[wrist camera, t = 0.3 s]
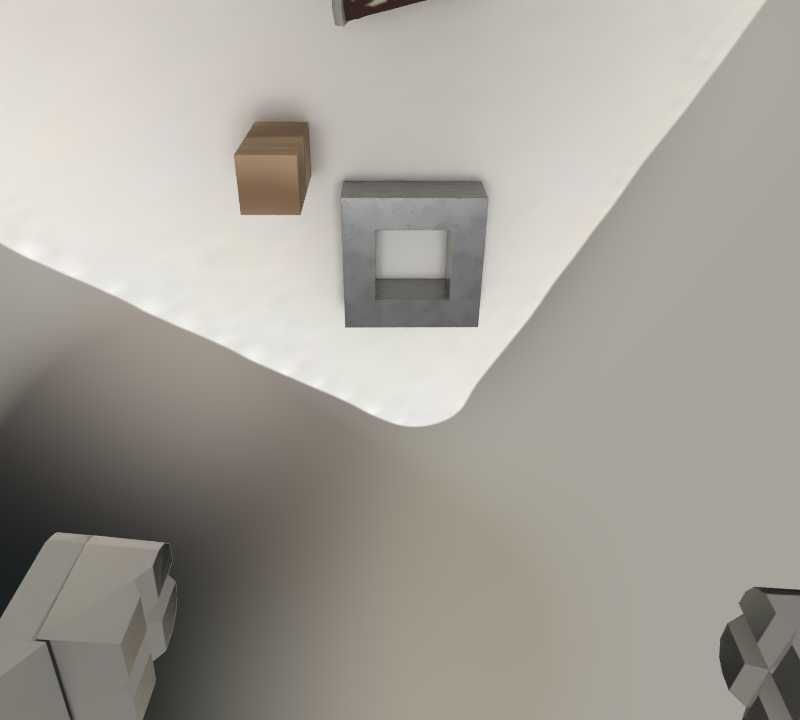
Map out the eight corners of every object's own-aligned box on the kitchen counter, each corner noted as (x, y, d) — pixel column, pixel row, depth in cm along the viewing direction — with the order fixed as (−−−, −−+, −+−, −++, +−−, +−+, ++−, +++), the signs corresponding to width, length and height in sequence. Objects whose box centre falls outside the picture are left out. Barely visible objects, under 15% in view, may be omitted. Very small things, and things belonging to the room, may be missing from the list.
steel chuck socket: (343, 181, 55) (340, 198, 51) (481, 181, 55) (488, 198, 52) (347, 305, 61) (345, 327, 57) (472, 304, 61) (477, 326, 57)
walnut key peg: (254, 122, 52) (234, 155, 45) (308, 122, 52) (296, 155, 45) (259, 174, 54) (240, 214, 47) (311, 174, 54) (300, 214, 47)
